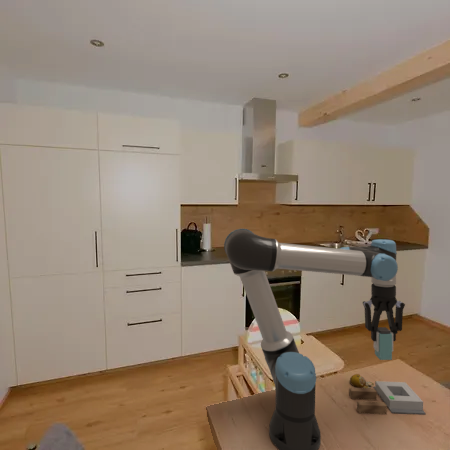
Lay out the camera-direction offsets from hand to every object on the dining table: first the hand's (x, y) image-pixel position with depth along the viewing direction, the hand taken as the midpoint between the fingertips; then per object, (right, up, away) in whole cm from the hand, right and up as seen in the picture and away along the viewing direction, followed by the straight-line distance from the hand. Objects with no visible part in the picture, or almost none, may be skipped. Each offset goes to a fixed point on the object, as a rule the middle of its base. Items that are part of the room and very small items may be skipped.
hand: (383, 349), depth 102 cm
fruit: (-2, -19, +11) cm, 22 cm away
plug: (0, -3, 0) cm, 3 cm away
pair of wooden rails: (-6, -20, 0) cm, 20 cm away
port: (+7, -19, +2) cm, 21 cm away
